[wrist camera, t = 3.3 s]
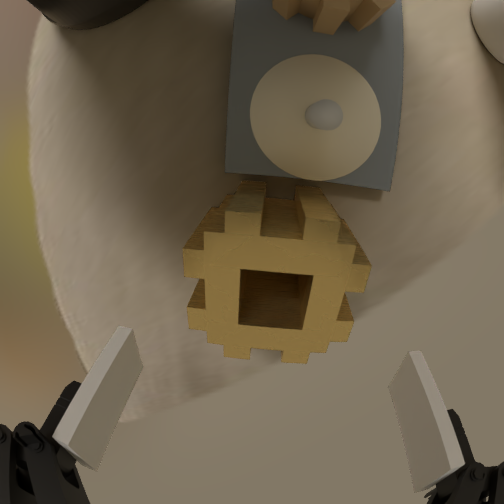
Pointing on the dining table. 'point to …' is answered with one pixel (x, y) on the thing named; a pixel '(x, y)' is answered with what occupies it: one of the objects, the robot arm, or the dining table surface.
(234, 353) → the gear
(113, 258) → the dining table surface
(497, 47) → the milk bottle
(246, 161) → the gear board
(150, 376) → the dining table surface
